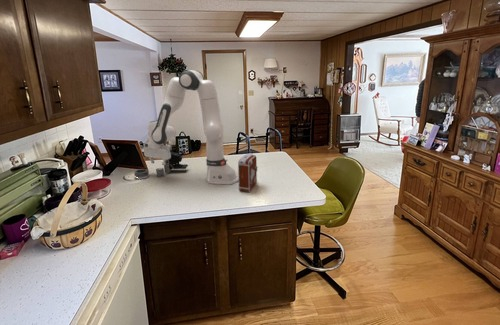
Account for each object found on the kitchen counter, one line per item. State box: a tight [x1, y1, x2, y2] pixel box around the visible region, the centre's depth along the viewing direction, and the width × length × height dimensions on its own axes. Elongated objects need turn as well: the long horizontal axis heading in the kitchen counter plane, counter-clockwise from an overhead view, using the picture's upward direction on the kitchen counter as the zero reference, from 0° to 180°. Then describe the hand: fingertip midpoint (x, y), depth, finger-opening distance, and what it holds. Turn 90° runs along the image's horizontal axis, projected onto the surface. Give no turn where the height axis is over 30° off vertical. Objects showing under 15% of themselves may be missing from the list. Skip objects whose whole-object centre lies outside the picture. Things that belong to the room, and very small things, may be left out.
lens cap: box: [155, 167, 165, 178], centre depth 199 cm, size 5×5×5 cm
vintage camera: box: [163, 143, 189, 174], centre depth 205 cm, size 10×16×20 cm, turn 89°
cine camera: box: [237, 153, 259, 193], centre depth 174 cm, size 9×19×20 cm, turn 161°
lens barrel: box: [133, 168, 150, 180], centre depth 196 cm, size 9×9×4 cm
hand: (158, 164), depth 197 cm, fingers open, 8 cm apart
